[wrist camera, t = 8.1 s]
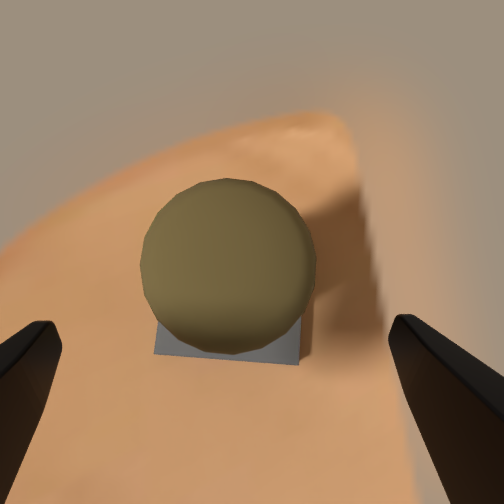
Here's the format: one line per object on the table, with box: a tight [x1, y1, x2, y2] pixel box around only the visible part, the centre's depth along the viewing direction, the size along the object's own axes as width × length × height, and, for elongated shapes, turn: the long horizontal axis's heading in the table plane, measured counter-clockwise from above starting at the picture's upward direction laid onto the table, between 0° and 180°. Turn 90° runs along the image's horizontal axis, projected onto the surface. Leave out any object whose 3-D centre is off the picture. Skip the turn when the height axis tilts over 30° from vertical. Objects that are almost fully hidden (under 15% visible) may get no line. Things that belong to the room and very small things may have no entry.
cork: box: [140, 178, 316, 355], centre depth 14 cm, size 6×6×11 cm
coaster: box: [154, 317, 301, 365], centre depth 20 cm, size 8×8×1 cm
